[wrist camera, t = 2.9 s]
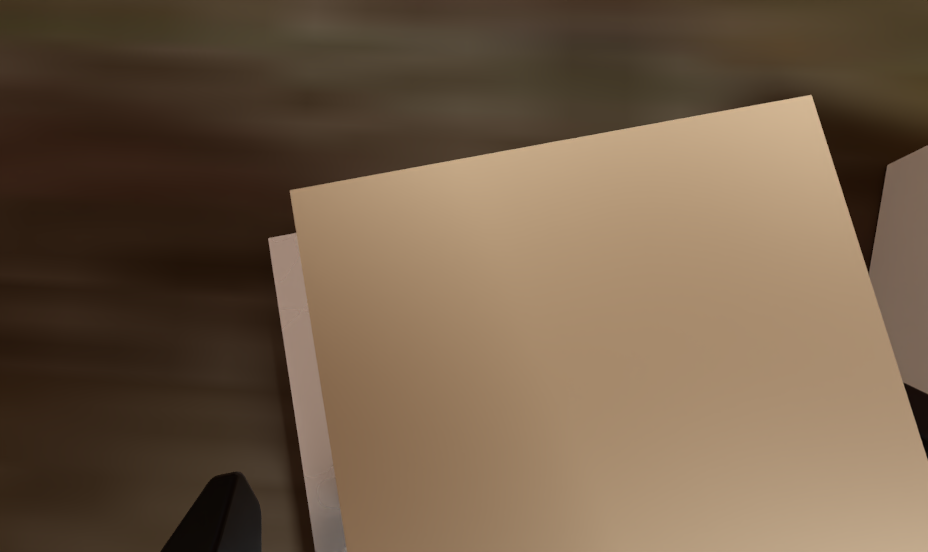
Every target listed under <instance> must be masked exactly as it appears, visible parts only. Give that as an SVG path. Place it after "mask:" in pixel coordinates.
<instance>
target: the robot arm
mask: <svg viewBox="0 0 928 552" xmlns="http://www.w3.org/2000/svg"><path fill="white" fill-rule="evenodd" d="M903 384H904V387H905V390H906V393H907V396H908V400H909V403H910V406H911V409H912V412H913V415H914V418H915V422H916V425H917V428H918V431H919V434H920V437H921V440H922V444H923V447H924V450H925V453H926V456H927V459H928V394H927V393H925V392H923V391H921V390H919V389H916V388H914V387H912V386H910V385H908V384H906V383H904V382H903ZM161 552H261V509H260V505H259V502H258V500H257V498H256V496H255V494H254V492H253V491H252V489H251V487H250V485H249V483H248V481H247V480H246V478H245V476H244V475H243V474H242V473H241V472H231V473H226V474H222V475H217V476H215V477H213V478H212V479H211V480H210V481H209V482H208V484H207V485H206V487H205V488H204V489H203V491H202V492H201V494H200V495H199V497H198V498H197V500H196V501H195V502H194V504H193V505H192V507H191V508H190V510H189V511H188V513H187V514H186V515H185V517H184V518H183V520H182V521H181V523H180V524H179V526H178V527H177V528H176V530H175V531H174V533H173V534H172V536H171V537H170V539H169V540H168V541H167V543H166V544H165V546H164V547H163V549H162V550H161Z"/></svg>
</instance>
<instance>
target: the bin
mask: <svg viewBox="0 0 928 552" xmlns="http://www.w3.org/2000/svg"><path fill="white" fill-rule="evenodd" d="M869 277H870V280H871V283H872V286H873V290H874V293H875V296H876V299H877V302H878V305H879V308H880V312H881V315H882V318H883V321H884V324H885V327H886V330H887V334H888V337H889V340H890V343H891V346H892V349H893V352H894V356H895V359H896V362H897V365H898V368H899V371H900V374H901V378H902V381H903V382H904V383H906V384H908V385H910V386H912V387H914V388H916V389H919V390H921V391H923V392H925V393H927V394H928V145H927V146H925V147H923V148H921V149H919V150H917V151H915V152H913V153H911V154H909V155H907V156H905V157H903V158H901V159H899V160H897V161H895V162H893V163H891V164H889V165H887V170H886V176H885V182H884V188H883V193H882V199H881V205H880V211H879V217H878V223H877V229H876V235H875V241H874V246H873V252H872V258H871V264H870V270H869Z"/></svg>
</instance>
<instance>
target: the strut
mask: <svg viewBox="0 0 928 552" xmlns="http://www.w3.org/2000/svg"><path fill="white" fill-rule="evenodd" d="M290 196H291V202H292V208H293V215H294V221H295V227H296V234H297V240H298V246H299V252H300V259H301V265H302V271H303V278H304V284H305V290H306V296H307V303H308V309H309V315H310V322H311V328H312V334H313V340H314V347H315V353H316V359H317V366H318V372H319V378H320V384H321V391H322V397H323V403H324V410H325V416H326V422H327V428H328V435H329V441H330V447H331V454H332V460H333V466H334V472H335V479H336V485H337V491H338V498H339V504H340V510H341V516H342V523H343V529H344V535H345V542H346V548H347V552H928V459H927V456H926V453H925V450H924V447H923V444H922V440H921V437H920V434H919V431H918V428H917V425H916V422H915V418H914V415H913V412H912V409H911V406H910V403H909V400H908V396H907V393H906V390H905V387H904V384H903V381H902V378H901V374H900V371H899V368H898V365H897V362H896V359H895V356H894V352H893V349H892V346H891V343H890V340H889V337H888V334H887V330H886V327H885V324H884V321H883V318H882V315H881V312H880V308H879V305H878V302H877V299H876V296H875V293H874V290H873V286H872V283H871V280H870V277H869V274H868V271H867V268H866V264H865V261H864V258H863V255H862V252H861V249H860V246H859V242H858V239H857V236H856V233H855V230H854V227H853V224H852V220H851V217H850V214H849V211H848V208H847V205H846V202H845V198H844V195H843V192H842V189H841V186H840V183H839V180H838V176H837V173H836V170H835V167H834V164H833V161H832V158H831V154H830V151H829V148H828V145H827V142H826V139H825V136H824V132H823V129H822V126H821V123H820V120H819V117H818V114H817V110H816V107H815V104H814V101H813V98H812V95H808V96H802V97H797V98H792V99H786V100H781V101H775V102H770V103H764V104H759V105H753V106H748V107H742V108H737V109H731V110H726V111H721V112H715V113H710V114H704V115H699V116H693V117H688V118H682V119H677V120H671V121H666V122H660V123H655V124H649V125H644V126H639V127H633V128H628V129H622V130H617V131H611V132H606V133H600V134H595V135H589V136H584V137H578V138H573V139H567V140H562V141H557V142H551V143H546V144H540V145H535V146H529V147H524V148H518V149H513V150H507V151H502V152H496V153H491V154H486V155H480V156H475V157H469V158H464V159H458V160H453V161H447V162H442V163H436V164H431V165H425V166H420V167H414V168H409V169H404V170H398V171H393V172H387V173H382V174H376V175H371V176H365V177H360V178H354V179H349V180H343V181H338V182H332V183H327V184H322V185H316V186H311V187H305V188H300V189H294V190H290Z"/></svg>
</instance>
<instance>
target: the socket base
mask: <svg viewBox="0 0 928 552" xmlns="http://www.w3.org/2000/svg"><path fill="white" fill-rule="evenodd" d="M268 241H269V248H270V254H271V261H272V268H273V274H274V281H275V287H276V294H277V301H278V307H279V314H280V321H281V327H282V334H283V340H284V347H285V354H286V360H287V367H288V374H289V380H290V387H291V394H292V400H293V407H294V413H295V420H296V427H297V433H298V440H299V447H300V453H301V460H302V466H303V473H304V480H305V486H306V493H307V500H308V506H309V513H310V520H311V526H312V533H313V539H314V546H315V552H347V548H346V542H345V535H344V529H343V523H342V516H341V510H340V504H339V498H338V491H337V485H336V479H335V472H334V466H333V460H332V454H331V447H330V441H329V435H328V428H327V422H326V416H325V410H324V403H323V397H322V391H321V384H320V378H319V372H318V366H317V359H316V353H315V347H314V340H313V334H312V328H311V322H310V315H309V309H308V303H307V296H306V290H305V284H304V278H303V271H302V265H301V259H300V252H299V246H298V240H297V234H296V233H293V234H288V235H282V236H277V237H272V238H268Z"/></svg>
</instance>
